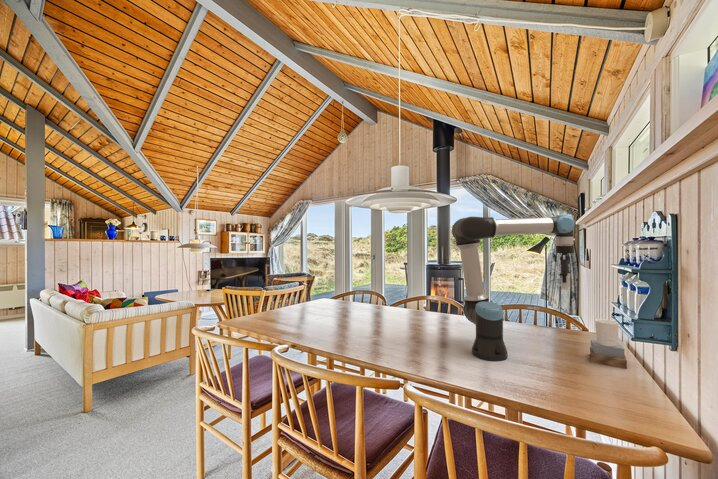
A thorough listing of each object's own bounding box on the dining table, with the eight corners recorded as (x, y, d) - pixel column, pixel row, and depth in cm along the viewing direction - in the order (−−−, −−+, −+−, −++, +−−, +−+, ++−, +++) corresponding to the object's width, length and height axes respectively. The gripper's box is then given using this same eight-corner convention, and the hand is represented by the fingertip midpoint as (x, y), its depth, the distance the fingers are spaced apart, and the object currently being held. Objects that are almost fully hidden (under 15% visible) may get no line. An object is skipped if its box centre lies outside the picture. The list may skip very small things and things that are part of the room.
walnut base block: (590, 363, 135) (590, 354, 135) (590, 355, 144) (589, 346, 144) (626, 370, 128) (626, 360, 128) (624, 361, 137) (623, 352, 137)
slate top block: (594, 354, 135) (594, 345, 135) (590, 347, 144) (590, 338, 144) (624, 358, 130) (624, 348, 130) (618, 351, 139) (618, 342, 139)
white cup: (615, 342, 138) (615, 320, 138) (620, 348, 130) (620, 324, 131) (593, 340, 141) (593, 318, 141) (597, 345, 134) (597, 322, 134)
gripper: (572, 245, 145) (573, 291, 145) (574, 245, 166) (575, 285, 165) (553, 245, 150) (554, 290, 150) (557, 245, 170) (558, 284, 170)
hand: (565, 287), depth 157 cm, fingers open, 13 cm apart
